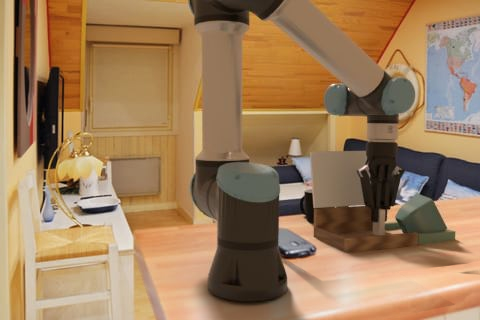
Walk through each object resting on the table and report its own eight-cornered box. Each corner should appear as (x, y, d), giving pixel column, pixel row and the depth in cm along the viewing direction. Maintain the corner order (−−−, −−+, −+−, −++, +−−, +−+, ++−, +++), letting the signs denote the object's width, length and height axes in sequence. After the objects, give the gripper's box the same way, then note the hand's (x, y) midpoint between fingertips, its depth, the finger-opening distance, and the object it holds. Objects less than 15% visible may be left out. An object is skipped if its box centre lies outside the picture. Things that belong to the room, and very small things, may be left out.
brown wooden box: (346, 252, 104) (347, 219, 104) (313, 237, 118) (314, 208, 118) (417, 245, 111) (418, 214, 111) (378, 232, 125) (379, 204, 125)
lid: (311, 151, 119) (309, 151, 119) (315, 208, 117) (313, 208, 118) (376, 150, 126) (374, 151, 126) (380, 204, 124) (378, 204, 125)
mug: (341, 226, 133) (342, 191, 132) (321, 230, 127) (322, 194, 126) (310, 219, 142) (310, 187, 141) (289, 223, 136) (290, 189, 135)
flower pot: (417, 247, 115) (448, 229, 115) (401, 216, 114) (433, 198, 114) (402, 238, 124) (431, 221, 124) (388, 209, 123) (417, 193, 123)
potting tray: (418, 244, 112) (418, 234, 112) (380, 232, 125) (380, 223, 125) (455, 241, 116) (455, 231, 116) (414, 229, 129) (415, 220, 129)
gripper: (369, 141, 109) (365, 239, 110) (413, 141, 113) (409, 236, 115) (350, 140, 116) (347, 233, 117) (393, 140, 120) (390, 230, 122)
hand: (378, 234), depth 116 cm, fingers closed
